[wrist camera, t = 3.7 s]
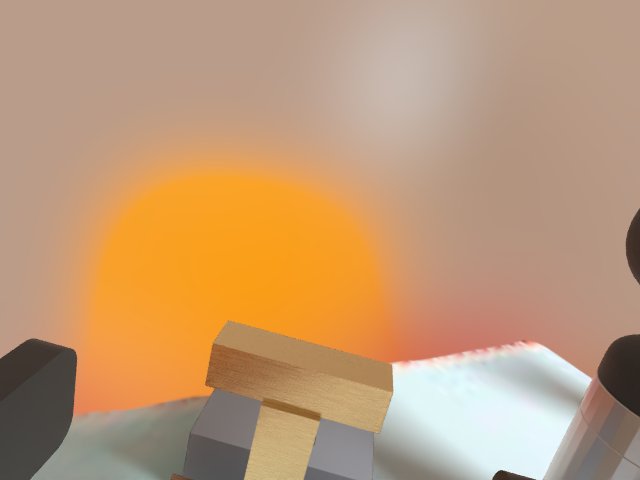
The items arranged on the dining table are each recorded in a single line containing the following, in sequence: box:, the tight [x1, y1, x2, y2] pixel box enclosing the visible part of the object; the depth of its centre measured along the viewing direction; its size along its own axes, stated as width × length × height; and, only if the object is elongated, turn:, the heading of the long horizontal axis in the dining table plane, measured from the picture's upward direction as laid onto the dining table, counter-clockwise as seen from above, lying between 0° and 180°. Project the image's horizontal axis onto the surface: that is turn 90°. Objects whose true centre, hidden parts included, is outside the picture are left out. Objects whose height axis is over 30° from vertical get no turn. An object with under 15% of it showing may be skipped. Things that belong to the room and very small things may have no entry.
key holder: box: [182, 388, 373, 480], centre depth 40 cm, size 14×9×6 cm, turn 83°
